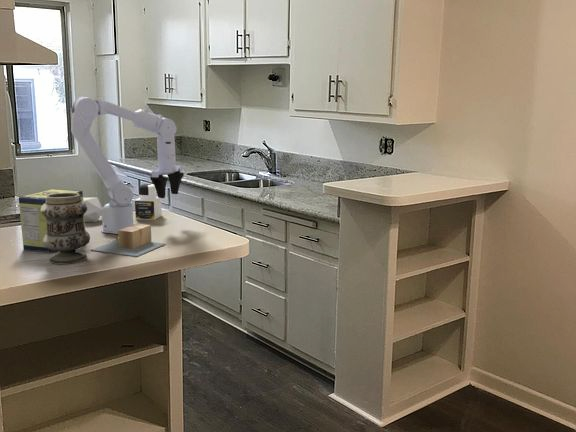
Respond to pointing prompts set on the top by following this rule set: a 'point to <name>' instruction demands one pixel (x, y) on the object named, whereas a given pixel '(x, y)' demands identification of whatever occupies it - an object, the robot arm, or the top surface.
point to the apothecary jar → (65, 227)
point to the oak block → (134, 235)
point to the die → (92, 209)
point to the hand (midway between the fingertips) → (168, 195)
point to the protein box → (37, 219)
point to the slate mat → (135, 252)
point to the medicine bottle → (148, 203)
